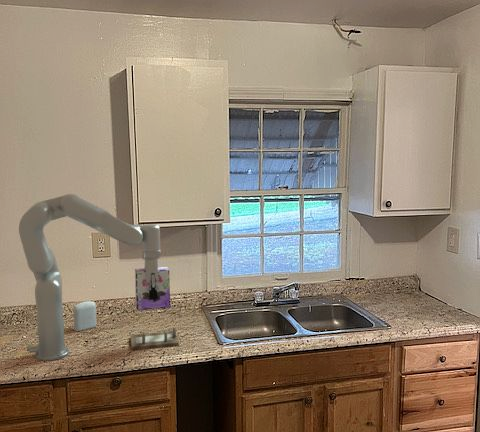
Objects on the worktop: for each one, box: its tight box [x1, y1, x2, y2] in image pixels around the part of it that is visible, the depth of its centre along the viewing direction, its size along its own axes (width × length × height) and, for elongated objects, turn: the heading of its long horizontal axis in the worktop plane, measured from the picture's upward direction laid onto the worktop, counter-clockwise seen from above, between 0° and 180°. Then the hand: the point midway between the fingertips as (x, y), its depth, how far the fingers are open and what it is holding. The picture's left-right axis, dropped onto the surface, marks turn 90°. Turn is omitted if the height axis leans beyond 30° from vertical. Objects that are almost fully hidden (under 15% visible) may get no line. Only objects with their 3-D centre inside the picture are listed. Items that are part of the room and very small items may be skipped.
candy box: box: [134, 266, 171, 311], centre depth 203 cm, size 14×6×16 cm, turn 105°
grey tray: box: [130, 326, 180, 351], centre depth 206 cm, size 19×14×5 cm
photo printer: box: [72, 300, 98, 332], centre depth 222 cm, size 10×4×12 cm, turn 134°
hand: (152, 296), depth 204 cm, fingers closed on candy box, 5 cm apart
